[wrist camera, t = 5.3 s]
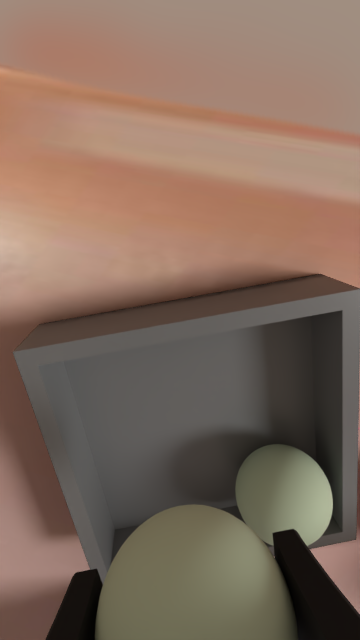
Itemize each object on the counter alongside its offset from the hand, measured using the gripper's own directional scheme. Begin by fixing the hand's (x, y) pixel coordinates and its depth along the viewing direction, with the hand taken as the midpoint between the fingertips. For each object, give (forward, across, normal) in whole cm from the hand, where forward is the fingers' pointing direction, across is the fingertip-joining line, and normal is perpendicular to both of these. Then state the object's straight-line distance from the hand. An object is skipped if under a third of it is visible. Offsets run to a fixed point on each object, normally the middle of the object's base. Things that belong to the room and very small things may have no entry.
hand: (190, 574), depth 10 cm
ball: (+7, -5, +6) cm, 10 cm away
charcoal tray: (+10, -2, +2) cm, 10 cm away
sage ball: (-1, 0, 0) cm, 1 cm away
